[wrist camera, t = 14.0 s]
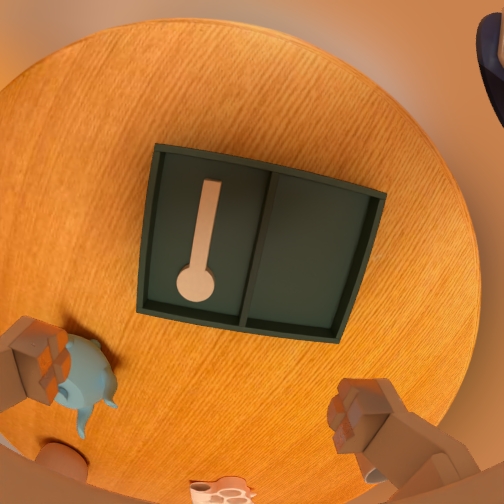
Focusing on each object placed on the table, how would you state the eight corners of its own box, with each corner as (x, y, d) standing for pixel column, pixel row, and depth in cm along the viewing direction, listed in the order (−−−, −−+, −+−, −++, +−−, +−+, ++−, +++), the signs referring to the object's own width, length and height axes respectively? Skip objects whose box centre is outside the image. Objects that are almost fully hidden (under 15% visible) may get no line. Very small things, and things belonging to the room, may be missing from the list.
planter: (42, 448, 49) (27, 479, 38) (48, 429, 46) (30, 464, 36) (86, 473, 51) (75, 506, 41) (97, 457, 49) (85, 495, 38)
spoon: (194, 176, 33) (191, 177, 30) (234, 183, 33) (233, 185, 31) (176, 293, 37) (173, 301, 35) (211, 299, 37) (210, 308, 35)
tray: (161, 144, 32) (154, 143, 29) (376, 190, 35) (387, 193, 32) (142, 301, 38) (135, 312, 35) (332, 331, 40) (339, 344, 37)
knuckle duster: (189, 473, 50) (260, 476, 51) (194, 504, 55) (252, 507, 57) (188, 485, 47) (261, 488, 48) (193, 515, 52) (253, 517, 53)
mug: (340, 433, 48) (355, 478, 37) (378, 408, 46) (400, 452, 36) (368, 451, 51) (383, 490, 40) (401, 429, 49) (421, 467, 39)
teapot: (72, 303, 37) (37, 341, 28) (141, 364, 41) (123, 412, 31) (41, 348, 40) (11, 385, 30) (101, 399, 43) (82, 442, 33)
